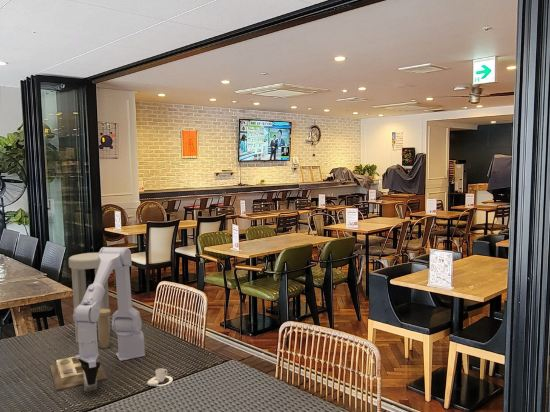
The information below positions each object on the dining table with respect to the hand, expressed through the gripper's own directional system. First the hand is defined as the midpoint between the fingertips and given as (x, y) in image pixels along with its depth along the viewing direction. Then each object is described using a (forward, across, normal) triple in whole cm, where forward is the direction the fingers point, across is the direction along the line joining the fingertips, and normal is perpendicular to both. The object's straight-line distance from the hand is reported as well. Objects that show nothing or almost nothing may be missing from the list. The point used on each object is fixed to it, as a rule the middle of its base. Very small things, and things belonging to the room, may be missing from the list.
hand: (90, 380), depth 159 cm
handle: (+3, -35, +11) cm, 37 cm away
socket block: (+3, -15, -2) cm, 15 cm away
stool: (+3, -50, +9) cm, 51 cm away
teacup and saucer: (+3, +5, +19) cm, 20 cm away
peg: (+3, 0, 0) cm, 3 cm away
